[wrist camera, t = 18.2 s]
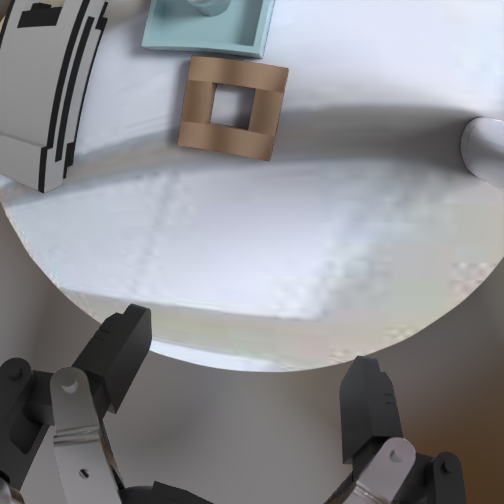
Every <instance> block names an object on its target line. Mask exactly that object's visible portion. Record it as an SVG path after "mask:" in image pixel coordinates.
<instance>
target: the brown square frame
mask: <svg viewBox="0 0 504 504" xmlns="http://www.w3.org/2000/svg"><path fill="white" fill-rule="evenodd" d="M288 71H289V70H288V68H284V67H278V66H273V65H267V64H261V63H254V62H247V61H240V60H232V59H223V58H212V57H200V56H191V60H190V65H189V71H188V76H187V82H186V88H185V95H184V101H183V108H182V114H181V122H180V129H179V137H178V145H180V146H186V147H193V148H199V149H206V150H212V151H217V152H223V153H229V154H234V155H240V156H245V157H250V158H255V159H260V160H265V161H270V159H271V154H272V149H273V145H274V140H275V135H276V130H277V125H278V120H279V115H280V110H281V105H282V101H283V96H284V91H285V86H286V81H287V76H288ZM217 83H218V84H226V85H233V86H240V87H247V88H253V89H256V92H255V97H254V102H253V107H252V112H251V118H250V123H249V128H248V129H245V128H239V127H233V126H227V125H221V124H214V123H210V120H211V114H212V108H213V102H214V96H215V90H216V85H217Z"/></svg>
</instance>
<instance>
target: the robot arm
mask: <svg viewBox="0 0 504 504" xmlns="http://www.w3.org/2000/svg"><path fill="white" fill-rule="evenodd" d="M461 154H462V158H463V161H464V163H465V165H466V167H467V168H468V170H469V171H470V172H471V173H472V174H474V175H475V176H477V177H479V178H481V179H483V180H485V181H486V182H488V183H490V184H491V185H493V186H495V187H497V188H498V189H500V190H502V191H504V121H501V120H496V119H491V118H486V117H478V118H475V119H473V120H472V121H470V122H469V123H468V124H467V126H466V127H465V129H464V131H463V134H462V138H461ZM151 341H152V329H151V311H150V309H148V308H145V307H142V306H138V305H135V304H130V305H129V306H128V308H127V309H126V311H125V312H124V313H123V314H120V313H117V312H116V313H115V314H113V315H112V316H110V317H108V318H107V319H105V321H104V322H103V323H102V325H101V326H100V327H99V330H97V331H96V333H95V334H94V336H93V338H91V340H90V341H89V342H88V344H87V345H86V347H85V348H84V349H83V351H82V352H81V354H80V355H79V357H78V358H77V359H76V361H75V362H74V364H73V365H72V366H71V367H63V368H61V369H59V370H57V371H56V372H55V373H48V372H42V371H36V370H32V369H31V367H30V365H29V363H28V362H27V361H26V360H24V359H22V358H12V359H9V360H7V361H6V362H5V363H3V365H2V366H1V367H0V504H25V502H24V499H23V497H22V495H21V493H20V489H21V486H22V485H23V482H24V480H25V477H26V475H27V473H28V471H29V468H30V466H31V464H32V462H33V459H34V457H35V455H36V453H37V451H38V449H39V447H40V445H41V443H42V440H43V439H44V436H45V435H46V432H47V430H48V428H49V426H50V425H53V426H55V428H56V436H54V438H53V443H54V450H55V455H56V459H57V464H58V469H59V473H60V477H61V481H62V485H63V489H64V492H65V496H66V499H67V502H68V504H213V503H211V502H209V501H207V500H205V499H202V498H201V497H198V496H196V495H194V494H192V493H190V492H188V491H187V490H183V489H179V488H176V487H172V486H169V485H166V484H163V483H159V482H156V481H155V482H154V484H153V486H134V487H128V488H126V485H125V483H124V480H123V477H122V475H121V472H120V471H119V468H118V465H117V463H116V460H115V458H114V455H113V451H112V449H111V445H110V442H109V439H108V435H107V432H106V428H105V424H104V421H103V418H104V416H105V414H106V412H107V411H109V412H111V413H114V414H116V413H117V411H118V409H119V407H120V405H121V403H122V401H123V399H124V397H125V395H126V393H127V391H128V389H129V387H130V385H131V383H132V381H133V379H134V378H135V375H136V374H137V372H138V370H139V368H140V366H141V364H142V362H143V360H144V359H145V357H146V355H147V353H148V351H149V349H150V345H151ZM340 410H341V428H342V453H343V464H353V471H352V472H350V474H349V475H348V476H347V477H346V479H345V480H344V481H343V482H342V483H341V484H340V485H339V487H338V488H337V489H336V490H335V491H334V492H333V494H332V495H331V496H330V497H329V498H328V499H327V500H326V502H324V503H323V504H390V502H391V501H392V499H393V504H466V495H465V487H464V480H463V473H462V467H461V463H460V461H459V459H458V458H457V456H455V455H454V454H452V453H450V452H442V453H440V454H438V455H437V456H436V457H435V458H433V457H430V456H426V455H422V454H419V453H416V452H415V450H414V448H413V446H412V445H411V443H409V442H408V441H407V440H405V439H403V435H402V430H401V424H400V418H399V413H398V408H397V405H396V399H395V396H394V389H393V385H392V382H391V380H390V379H389V377H388V376H387V374H386V373H385V372H380V369H379V364H378V360H377V359H376V358H371V357H364V356H357V357H356V358H355V360H354V362H353V363H352V365H351V367H350V368H349V370H348V372H347V373H346V375H345V377H344V378H343V380H342V382H341V386H340Z"/></svg>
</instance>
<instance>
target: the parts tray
mask: <svg viewBox="0 0 504 504" xmlns="http://www.w3.org/2000/svg"><path fill="white" fill-rule="evenodd" d="M274 2H275V0H231V2H230V6H229V7H228V9H227V10H226V11H225V12H223V13H222V14H220V15H217V16H205V15H203V14H201V13H200V12H199V11H198V10H197V9H195V8H194V7H193V6H192V5H190V4H189V3H188V2H187V1H185V0H151V4H150V8H149V12H148V17H147V21H146V26H145V30H144V35H143V40H142V47H145V48H149V49H152V50H176V51H197V52H211V53H222V54H231V55H240V56H247V57H254V58H261V59H263V54H264V49H265V45H266V40H267V35H268V30H269V25H270V21H271V16H272V11H273V7H274Z"/></svg>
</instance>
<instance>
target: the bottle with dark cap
mask: <svg viewBox="0 0 504 504" xmlns="http://www.w3.org/2000/svg"><path fill="white" fill-rule="evenodd" d="M185 1H187V2H188V3H189V4H190V5H192V6H193V7H194V8H195V9H197V10H198V11H199V12H200V13H201V14H203V15H205V16H217V15H220V14H222V13H223V12H225V11H226V10H227V9H228V7H229V6H230V2H231V0H185Z"/></svg>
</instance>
